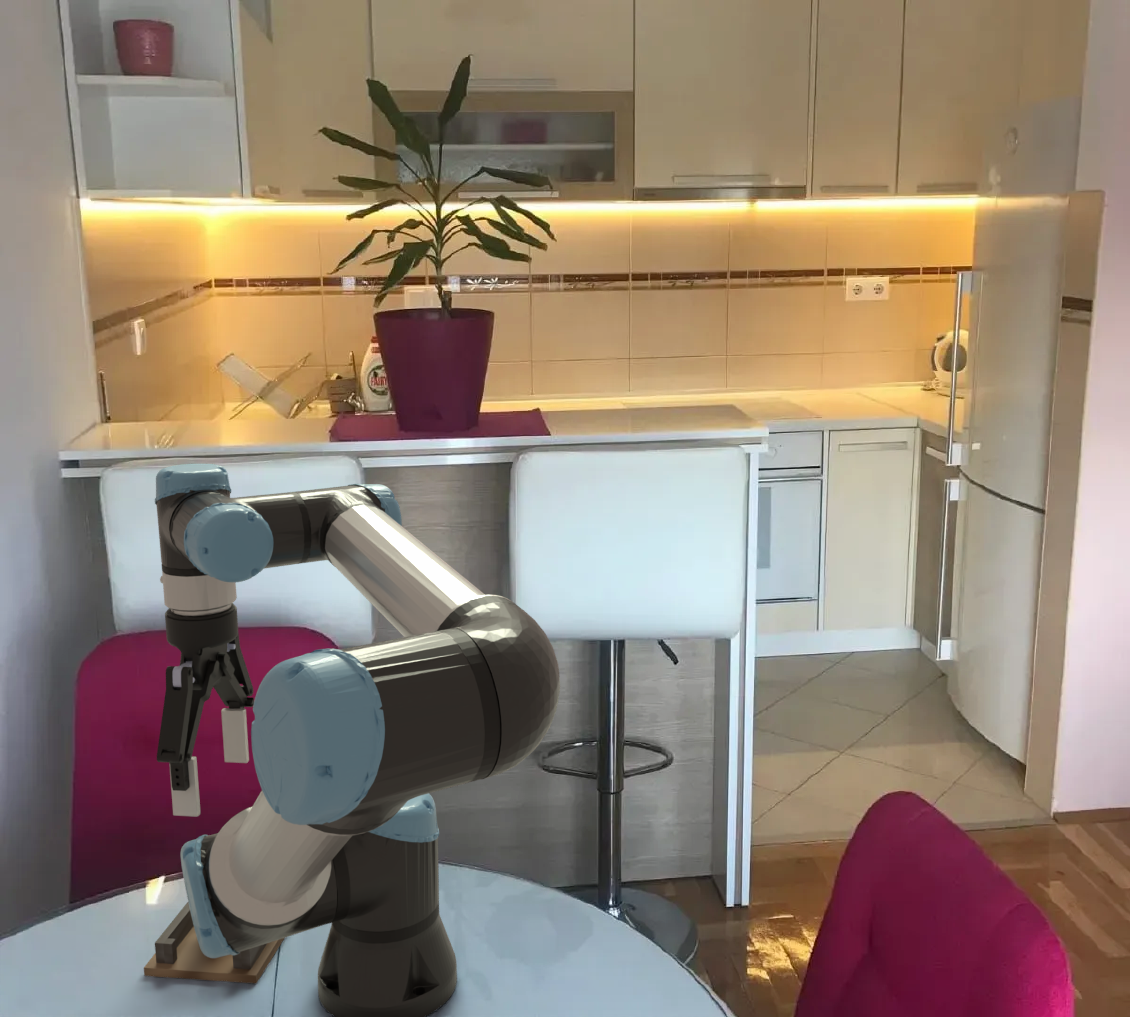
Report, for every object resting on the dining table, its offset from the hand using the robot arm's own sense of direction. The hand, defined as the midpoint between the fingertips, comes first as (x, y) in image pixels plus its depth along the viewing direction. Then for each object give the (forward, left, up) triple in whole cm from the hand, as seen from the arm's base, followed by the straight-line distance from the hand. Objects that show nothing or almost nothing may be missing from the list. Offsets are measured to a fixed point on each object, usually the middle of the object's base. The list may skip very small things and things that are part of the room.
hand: (213, 786), depth 127 cm
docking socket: (0, 0, -20) cm, 20 cm away
